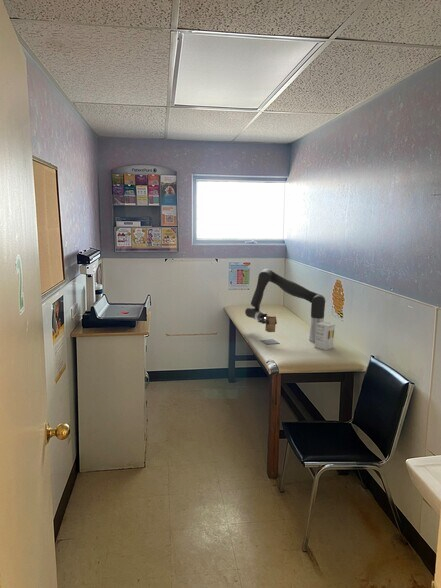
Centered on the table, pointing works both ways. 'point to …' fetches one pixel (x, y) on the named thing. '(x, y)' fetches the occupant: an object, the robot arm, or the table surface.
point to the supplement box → (324, 335)
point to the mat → (269, 341)
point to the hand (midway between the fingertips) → (272, 323)
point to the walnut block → (270, 323)
